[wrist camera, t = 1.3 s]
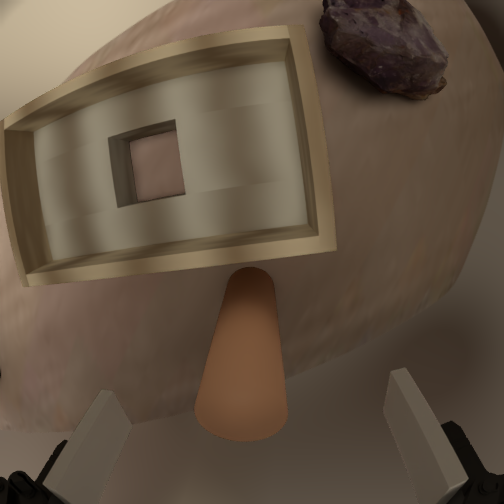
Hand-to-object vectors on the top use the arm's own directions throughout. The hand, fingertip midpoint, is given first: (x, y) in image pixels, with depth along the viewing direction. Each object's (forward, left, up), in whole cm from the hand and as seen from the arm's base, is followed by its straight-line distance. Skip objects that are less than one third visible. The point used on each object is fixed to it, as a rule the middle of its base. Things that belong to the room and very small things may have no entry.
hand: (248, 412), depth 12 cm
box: (-6, +12, -15) cm, 20 cm away
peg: (0, 0, -15) cm, 15 cm away
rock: (+13, +20, -15) cm, 28 cm away
